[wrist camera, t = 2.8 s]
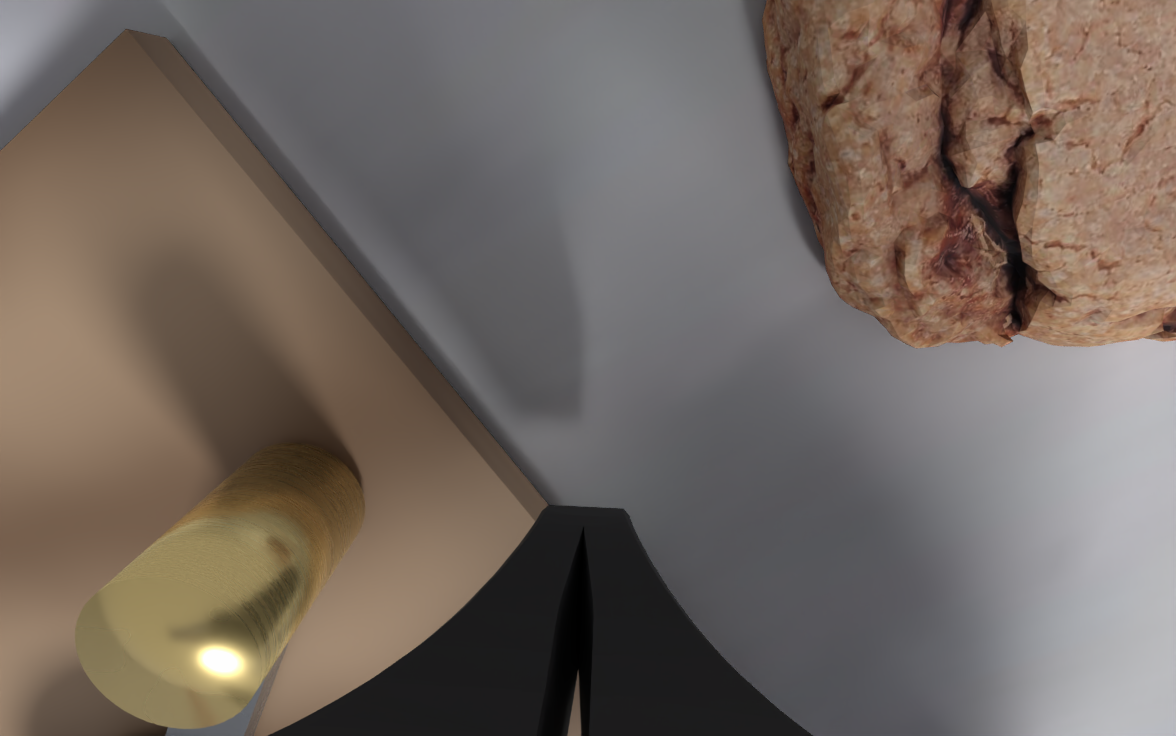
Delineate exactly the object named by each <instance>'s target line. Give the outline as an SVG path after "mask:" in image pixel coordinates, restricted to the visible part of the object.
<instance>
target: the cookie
mask: <svg viewBox="0 0 1176 736" xmlns="http://www.w3.org/2000/svg"><path fill="white" fill-rule="evenodd" d="M762 23H763V30H764V41H765V49H766V54H767V61H766V63H767V71H768V74H769V77H770V80H771V83H772V86H773V90H774V93H775V97H776V100H777V103H778V110H779V112H780V114H781V116H782V119H783V123H784V128H785V132H786V136H787V140H788V147H789V150H788V165H789V167H790V170H791V172H792V174H793V177H794V179H795V182H796V185H797V187H798V189H799V192H800V195H801V197H802V198H803V201H804V203H805V205H806V207H807V210H808V212H809V215H810V217H811V219H812V221H813V225H814V228H815V231H816V235H817V238H818V241H819V243H820V244H821V246H822V248H823V249H824V256H825V266H826V271H827V274H828V276H829V279H830V281H831V284H832V286H833V287H834V289H835V291H836V292H837V294H838V295H839V297H840V298H841V299H842V300H844V301H845V302H846V303H847V304H849V305H850V306H852V307H854V308H856V309H858V310H861V311H863V312H865V313H868V314H870V315H872V316H874V317H875V318H876V319H877V320H878V321H879V322H880V323H881V324H882V325H883V326H884V327H885V328H886V329H887V331H888V332H889V333H890V334H891V336H893V337H895V338H896V339H898V340H900V341H902V342H904V343H905V344H908V345H910V346H912V347H914V348H924V347H938V346H940V345H942V344H944V343H947V342H952V343H961V342H969V341H980V342H982V343H984V344H991V343H994V344H996V345H998V346H1000V347H1003V346H1005V345H1007V344H1009V343H1011V342H1013V340H1012V339H1011V338H1010V337H1012V336H1015V335H1017V334H1020V335H1023V336H1026V337H1029V338H1031V339H1035V340H1038V341H1041V342H1044V343H1047V344H1051V345H1057V346H1079V347H1090V346H1099V345H1105V344H1111V343H1116V342H1123V341H1131V340H1138V339H1141V338H1146V339H1152V340H1158V341H1173V340H1176V0H767V1H766V6H765V10H764V14H763V18H762Z"/></svg>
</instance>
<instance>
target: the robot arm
mask: <svg viewBox="0 0 1176 736" xmlns="http://www.w3.org/2000/svg"><path fill="white" fill-rule="evenodd" d="M578 670H579V696H580V720H581V736H813V735H811V734H810V733H809V732H807V731H806V730H805V729H803V728H802V727H801V726H799V725H798V724H797V723H795V722H794V721H793V720H792V719H790V718H789V717H788V716H787V715H785V714H784V713H783V712H782V711H780V710H779V709H778V708H777V707H776V706H774V705H773V704H772V703H771V702H770V701H769V700H768V699H767V698H765V697H764V696H763V695H762V694H761V693H760V692H759V691H758V690H756V689H755V688H754V687H753V686H752V685H751V684H750V683H749V682H747V681H746V680H745V679H744V678H743V677H742V676H741V675H740V674H739V673H738V672H737V671H736V670H735V669H734V668H733V667H732V666H731V665H730V664H729V663H728V662H727V661H726V660H725V659H724V658H723V657H722V656H721V655H720V654H719V652H718V651H717V650H716V649H715V648H714V647H713V646H712V645H711V644H710V642H709V641H708V640H707V639H706V638H705V637H704V635H703V634H702V633H701V632H700V631H699V629H698V628H697V627H696V626H695V624H694V623H693V622H692V621H691V619H690V618H689V617H688V615H687V614H686V613H685V611H684V610H683V609H682V607H681V606H680V605H679V603H678V602H677V601H676V599H675V598H674V596H673V595H672V593H671V592H670V590H669V589H668V588H667V586H666V584H665V583H664V581H663V580H662V578H661V577H660V575H659V573H658V572H657V570H656V569H655V567H654V565H653V564H652V562H651V560H650V559H649V557H648V555H647V553H646V551H645V550H644V548H643V546H642V544H641V542H640V540H639V538H638V536H637V534H636V532H635V529H634V527H633V525H632V522H631V519H630V516H629V515H628V514H627V512H626V511H625V510H624V509H618V508H598V507H577V506H556V505H548V506H547V507H546V508H545V509H543V510H542V511H541V513H540V515H539V516H538V518H537V520H536V521H535V523H534V524H533V526H532V527H531V529H530V530H529V531H528V533H527V534H526V536H525V537H524V538H523V540H522V541H521V542H520V544H519V545H518V546H517V548H516V549H515V550H514V551H513V552H512V554H511V555H510V556H509V557H508V558H507V560H506V561H505V562H504V563H503V565H502V566H501V567H500V568H499V569H498V571H497V572H496V573H495V574H494V575H493V576H492V577H491V578H490V579H489V580H488V581H487V583H486V584H485V585H484V586H483V587H482V588H481V589H480V590H479V591H478V592H477V593H476V594H475V595H474V596H473V597H472V598H471V599H470V600H469V601H468V602H467V603H466V604H465V605H464V606H463V607H462V608H461V609H460V610H459V611H458V612H457V613H456V614H455V615H454V616H453V617H452V618H450V619H449V620H448V621H447V622H446V623H445V624H444V625H443V626H441V627H440V628H439V629H438V630H437V631H435V632H434V633H433V634H432V635H431V636H430V637H428V638H427V639H426V640H425V641H424V642H422V643H421V644H420V645H418V646H417V647H416V648H414V649H413V650H412V651H410V652H409V653H408V654H406V655H405V656H403V657H402V658H401V659H399V660H398V661H396V662H395V663H393V664H392V665H391V666H389V667H388V668H386V669H385V670H383V671H382V672H381V673H379V674H378V675H376V676H375V677H373V678H372V679H370V680H369V681H367V682H365V683H364V684H362V685H360V686H359V687H357V688H356V689H354V690H352V691H351V692H349V693H347V694H346V695H344V696H342V697H341V698H339V699H337V700H335V701H333V702H332V703H330V704H328V705H326V706H324V707H323V708H321V709H319V710H317V711H316V712H314V713H312V714H310V715H308V716H306V717H304V718H302V719H300V720H299V721H297V722H295V723H293V724H291V725H289V726H287V727H285V728H282V729H280V730H278V731H276V732H274V733H272V734H270V735H268V736H567V735H568V729H569V723H570V717H571V711H572V705H573V699H574V693H575V687H576V681H577V674H578Z"/></svg>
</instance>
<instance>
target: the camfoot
mask: <svg viewBox="0 0 1176 736" xmlns="http://www.w3.org/2000/svg"><path fill="white" fill-rule="evenodd" d="M364 517H365V501H364V496H363V493H362V489H361V487H360V485H359V483H358V481H357V479H356V478H355V476H354V475H353V473H352V472H351V471H350V470H349V468H348V467H347V466H346V465H345V464H344V463H343V462H341V461H340V460H339V459H338V458H336V457H335V456H333V455H332V454H330V453H328V452H326V451H324V450H322V449H320V448H317V447H314V446H312V445H307V444H303V443H280V444H275V445H271V446H268V447H266V448H264V449H262V450H260V451H258V452H257V453H255V454H254V455H253V456H252V457H251V458H249V459H248V460H247V461H246V462H245V463H244V464H243V465H241V466H240V467H239V468H238V469H237V470H236V471H235V472H233V473H232V474H231V475H230V476H229V477H228V478H227V479H225V480H224V481H223V482H222V483H221V484H220V485H219V486H218V487H216V488H215V489H214V490H213V491H212V492H211V493H210V494H208V495H207V496H206V497H205V498H204V499H203V500H202V501H200V502H199V503H198V504H197V505H196V506H195V507H194V508H193V509H191V510H190V511H189V512H188V513H187V514H186V515H185V516H183V517H182V518H181V519H180V520H179V521H178V522H177V523H175V524H174V525H173V526H172V527H171V528H170V529H169V530H168V531H166V532H165V533H164V534H163V535H162V536H161V537H160V538H158V539H157V540H156V541H155V542H154V543H153V544H152V545H150V546H149V547H148V548H147V549H146V550H145V551H144V552H143V553H141V554H140V555H139V556H138V557H137V558H136V559H135V560H133V561H132V562H131V563H130V564H129V565H128V566H127V567H125V568H124V569H123V570H122V571H121V572H120V573H119V574H117V575H116V576H115V577H114V578H113V579H112V580H111V581H110V582H108V583H107V584H106V585H105V586H104V587H103V588H102V589H100V590H99V591H98V592H97V593H96V594H95V595H94V596H92V597H91V598H90V599H89V601H88V602H87V603H86V604H85V605H84V607H83V609H82V610H81V612H80V614H79V617H78V620H77V623H76V629H75V645H76V651H77V654H78V657H79V660H80V663H81V665H82V667H83V669H84V671H85V673H86V674H87V676H88V677H89V679H90V680H91V682H92V683H93V684H94V685H95V686H96V688H97V689H98V690H99V691H100V692H101V693H102V694H103V695H104V696H105V697H106V698H107V699H109V700H110V701H111V702H112V703H114V704H115V705H116V706H118V707H119V708H121V709H123V710H124V711H126V712H128V713H129V714H131V715H133V716H135V717H137V718H140V719H142V720H145V721H147V722H150V723H153V724H157V725H160V726H165V727H168V729H167V732H166V735H165V736H254V733H255V731H256V728H257V725H258V723H259V720H260V717H261V715H262V712H263V709H264V707H265V704H266V702H267V699H268V696H269V694H270V691H271V688H272V686H273V683H274V680H275V678H276V675H277V672H278V670H279V667H280V665H281V662H282V659H283V657H284V654H285V651H286V649H287V646H288V643H289V641H290V639H291V637H292V635H293V634H294V632H295V631H296V629H297V628H298V626H299V625H300V623H301V622H302V620H303V618H304V617H305V615H306V614H307V612H308V611H309V609H310V608H311V606H312V604H313V603H314V601H315V600H316V598H317V597H318V595H319V594H320V592H321V591H322V589H323V587H324V586H325V584H326V583H327V581H328V580H329V578H330V577H331V575H332V574H333V572H334V570H335V569H336V567H337V566H338V564H339V563H340V561H341V560H342V558H343V557H344V555H345V553H346V552H347V550H348V549H349V547H350V546H351V544H352V543H353V541H354V539H355V538H356V536H357V535H358V533H359V531H360V529H361V527H362V525H363V521H364Z"/></svg>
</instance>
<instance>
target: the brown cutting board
mask: <svg viewBox="0 0 1176 736" xmlns="http://www.w3.org/2000/svg"><path fill="white" fill-rule="evenodd" d="M280 443H303V444H307V445H312V446H314V447H317V448H320V449H322V450H324V451H326V452H328V453H330V454H332V455H333V456H335V457H336V458H338V459H339V460H340V461H341V462H343V463H344V464H345V465H346V466H347V467H348V468H349V470H350V471H351V472H352V473H353V475H354V476H355V478H356V479H357V481H358V483H359V485H360V487H361V489H362V493H363V496H364V501H365V517H364V521H363V525H362V527H361V529H360V531H359V533H358V535H357V536H356V538H355V539H354V541H353V543H352V544H351V546H350V547H349V549H348V550H347V552H346V553H345V555H344V557H343V558H342V560H341V561H340V563H339V564H338V566H337V567H336V569H335V570H334V572H333V574H332V575H331V577H330V578H329V580H328V581H327V583H326V584H325V586H324V587H323V589H322V591H321V592H320V594H319V595H318V597H317V598H316V600H315V601H314V603H313V604H312V606H311V608H310V609H309V611H308V612H307V614H306V615H305V617H304V618H303V620H302V622H301V623H300V625H299V626H298V628H297V629H296V631H295V632H294V634H293V635H292V637H291V639H290V641H289V643H288V646H287V649H286V651H285V654H284V657H283V659H282V662H281V665H280V667H279V670H278V672H277V675H276V678H275V680H274V683H273V686H272V688H271V691H270V694H269V696H268V699H267V702H266V704H265V707H264V709H263V712H262V715H261V717H260V720H259V723H258V725H257V728H256V731H255V733H254V736H268V735H270V734H272V733H274V732H276V731H278V730H280V729H282V728H285V727H287V726H289V725H291V724H293V723H295V722H297V721H299V720H300V719H302V718H304V717H306V716H308V715H310V714H312V713H314V712H316V711H317V710H319V709H321V708H323V707H324V706H326V705H328V704H330V703H332V702H333V701H335V700H337V699H339V698H341V697H342V696H344V695H346V694H347V693H349V692H351V691H352V690H354V689H356V688H357V687H359V686H360V685H362V684H364V683H365V682H367V681H369V680H370V679H372V678H373V677H375V676H376V675H378V674H379V673H381V672H382V671H383V670H385V669H386V668H388V667H389V666H391V665H392V664H393V663H395V662H396V661H398V660H399V659H401V658H402V657H403V656H405V655H406V654H408V653H409V652H410V651H412V650H413V649H414V648H416V647H417V646H418V645H420V644H421V643H422V642H424V641H425V640H426V639H427V638H428V637H430V636H431V635H432V634H433V633H434V632H435V631H437V630H438V629H439V628H440V627H441V626H443V625H444V624H445V623H446V622H447V621H448V620H449V619H450V618H452V617H453V616H454V615H455V614H456V613H457V612H458V611H459V610H460V609H461V608H462V607H463V606H464V605H465V604H466V603H467V602H468V601H469V600H470V599H471V598H472V597H473V596H474V595H475V594H476V593H477V592H478V591H479V590H480V589H481V588H482V587H483V586H484V585H485V584H486V583H487V581H488V580H489V579H490V578H491V577H492V576H493V575H494V574H495V573H496V572H497V571H498V569H499V568H500V567H501V566H502V565H503V563H504V562H505V561H506V560H507V558H508V557H509V556H510V555H511V554H512V552H513V551H514V550H515V549H516V548H517V546H518V545H519V544H520V542H521V541H522V540H523V538H524V537H525V536H526V534H527V533H528V531H529V530H530V529H531V527H532V526H533V524H534V523H535V521H536V520H537V518H538V516H539V515H540V513H541V511H542V510H543V509H545V508H546V507H547V506H548V504H547V502H546V501H545V500H544V499H543V498H542V496H541V495H540V494H539V493H538V491H537V490H536V489H535V488H534V487H533V485H532V484H531V483H530V482H529V480H528V479H527V478H526V477H525V476H524V474H523V473H522V472H521V471H520V469H519V468H518V467H517V466H516V465H515V463H514V462H513V461H512V460H511V458H510V457H509V456H508V455H507V454H506V452H505V451H504V450H503V449H502V447H501V446H500V445H499V444H498V443H497V441H496V440H495V439H494V438H493V436H492V435H491V434H490V433H489V432H488V430H487V429H486V428H485V427H484V425H483V424H482V423H481V422H480V421H479V419H478V418H477V417H476V416H475V414H474V413H473V412H472V411H471V410H470V408H469V407H468V406H467V405H466V403H465V402H464V401H463V400H462V399H461V397H460V396H459V395H458V394H457V392H456V391H455V390H454V389H453V388H452V386H451V385H450V384H449V383H448V381H447V380H446V379H445V378H444V377H443V375H442V374H441V373H440V372H439V370H438V369H437V368H436V367H435V366H434V364H433V363H432V362H431V361H430V359H429V358H428V357H427V356H426V355H425V353H424V352H423V351H422V350H421V348H420V347H419V346H418V345H417V344H416V342H415V341H414V340H413V339H412V337H411V336H410V335H409V334H408V333H407V331H406V330H405V329H404V328H403V326H402V325H401V324H400V323H399V322H398V320H397V319H396V318H395V317H394V315H393V314H392V313H391V312H390V311H389V309H388V308H387V307H386V306H385V304H384V303H383V302H382V301H381V300H380V298H379V297H378V296H377V295H376V293H375V292H374V291H373V290H372V289H371V287H370V286H369V285H368V284H367V282H366V281H365V280H364V279H363V278H362V276H361V275H360V274H359V273H358V271H357V270H356V269H355V268H354V267H353V265H352V264H351V263H350V262H349V260H348V259H347V258H346V257H345V256H344V254H343V253H342V252H341V251H340V249H339V248H338V247H337V246H336V245H335V243H334V242H333V241H332V240H331V238H330V237H329V236H328V235H327V234H326V232H325V231H324V230H323V229H322V227H321V226H320V225H319V224H318V223H317V221H316V220H315V219H314V218H313V216H312V215H311V214H310V213H309V212H308V210H307V209H306V208H305V207H304V205H303V204H302V203H301V202H300V201H299V199H298V198H297V197H296V196H295V194H294V193H293V192H292V191H291V190H290V188H289V187H288V186H287V185H286V183H285V182H284V181H283V180H282V179H281V177H280V176H279V175H278V174H277V172H276V171H275V170H274V169H273V168H272V166H271V165H270V164H269V163H268V161H267V160H266V159H265V158H264V157H263V155H262V154H261V153H260V152H259V150H258V149H257V148H256V147H255V146H254V144H253V143H252V142H251V141H250V139H249V138H248V137H247V136H246V135H245V133H244V132H243V131H242V130H241V128H240V127H239V126H238V125H237V124H236V122H235V121H234V120H233V119H232V117H231V116H230V115H229V114H228V113H227V111H226V110H225V109H224V108H223V106H222V105H221V104H220V103H219V102H218V100H217V99H216V98H215V97H214V95H213V94H212V93H211V92H210V91H209V89H208V88H207V87H206V86H205V84H204V83H203V82H202V81H201V80H200V78H199V77H198V76H197V75H196V73H195V72H194V71H193V70H192V69H191V67H190V66H189V65H188V64H187V62H186V61H185V60H184V59H183V58H182V56H181V55H180V54H179V53H178V51H177V50H176V49H175V48H174V47H173V45H172V44H171V43H170V42H169V40H168V39H167V38H165V37H160V36H156V35H151V34H147V33H142V32H138V31H133V30H129V29H125V30H124V31H123V32H122V33H121V34H120V35H119V36H118V37H117V38H116V39H115V40H114V41H113V42H112V43H111V44H110V45H109V46H108V47H107V48H106V49H105V50H104V51H103V52H102V53H101V54H100V55H99V56H98V57H97V58H96V59H95V60H94V61H92V62H91V63H90V64H89V65H88V66H87V67H86V68H85V69H84V70H83V71H82V72H81V73H80V74H79V75H78V76H77V77H76V78H75V79H74V80H73V81H72V82H71V83H70V84H69V85H68V86H67V87H66V88H65V89H64V90H63V91H62V92H61V93H60V94H59V95H57V96H56V97H55V98H54V99H53V100H52V101H51V102H50V103H49V104H48V105H47V106H46V107H45V108H44V109H43V110H42V111H41V112H40V113H39V114H38V115H37V116H36V117H35V118H34V119H33V120H32V121H31V122H30V123H29V124H28V125H27V126H26V127H25V128H23V129H22V130H21V131H20V132H19V133H18V134H17V135H16V136H15V137H14V138H13V139H12V140H11V141H10V142H9V143H8V144H7V145H6V146H5V147H4V148H3V149H2V150H1V151H0V736H165V735H166V732H167V729H168V727H165V726H160V725H157V724H153V723H150V722H147V721H145V720H142V719H140V718H137V717H135V716H133V715H131V714H129V713H128V712H126V711H124V710H123V709H121V708H119V707H118V706H116V705H115V704H114V703H112V702H111V701H110V700H109V699H107V698H106V697H105V696H104V695H103V694H102V693H101V692H100V691H99V690H98V689H97V688H96V686H95V685H94V684H93V683H92V682H91V680H90V679H89V677H88V676H87V674H86V673H85V671H84V669H83V667H82V665H81V663H80V660H79V657H78V654H77V651H76V645H75V629H76V623H77V620H78V617H79V614H80V612H81V610H82V609H83V607H84V605H85V604H86V603H87V602H88V601H89V599H90V598H91V597H92V596H94V595H95V594H96V593H97V592H98V591H99V590H100V589H102V588H103V587H104V586H105V585H106V584H107V583H108V582H110V581H111V580H112V579H113V578H114V577H115V576H116V575H117V574H119V573H120V572H121V571H122V570H123V569H124V568H125V567H127V566H128V565H129V564H130V563H131V562H132V561H133V560H135V559H136V558H137V557H138V556H139V555H140V554H141V553H143V552H144V551H145V550H146V549H147V548H148V547H149V546H150V545H152V544H153V543H154V542H155V541H156V540H157V539H158V538H160V537H161V536H162V535H163V534H164V533H165V532H166V531H168V530H169V529H170V528H171V527H172V526H173V525H174V524H175V523H177V522H178V521H179V520H180V519H181V518H182V517H183V516H185V515H186V514H187V513H188V512H189V511H190V510H191V509H193V508H194V507H195V506H196V505H197V504H198V503H199V502H200V501H202V500H203V499H204V498H205V497H206V496H207V495H208V494H210V493H211V492H212V491H213V490H214V489H215V488H216V487H218V486H219V485H220V484H221V483H222V482H223V481H224V480H225V479H227V478H228V477H229V476H230V475H231V474H232V473H233V472H235V471H236V470H237V469H238V468H239V467H240V466H241V465H243V464H244V463H245V462H246V461H247V460H248V459H249V458H251V457H252V456H253V455H254V454H255V453H257V452H258V451H260V450H262V449H264V448H266V447H268V446H271V445H275V444H280ZM567 736H581V720H580V696H579V670H578V674H577V681H576V687H575V693H574V699H573V705H572V711H571V717H570V723H569V729H568V735H567Z"/></svg>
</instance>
